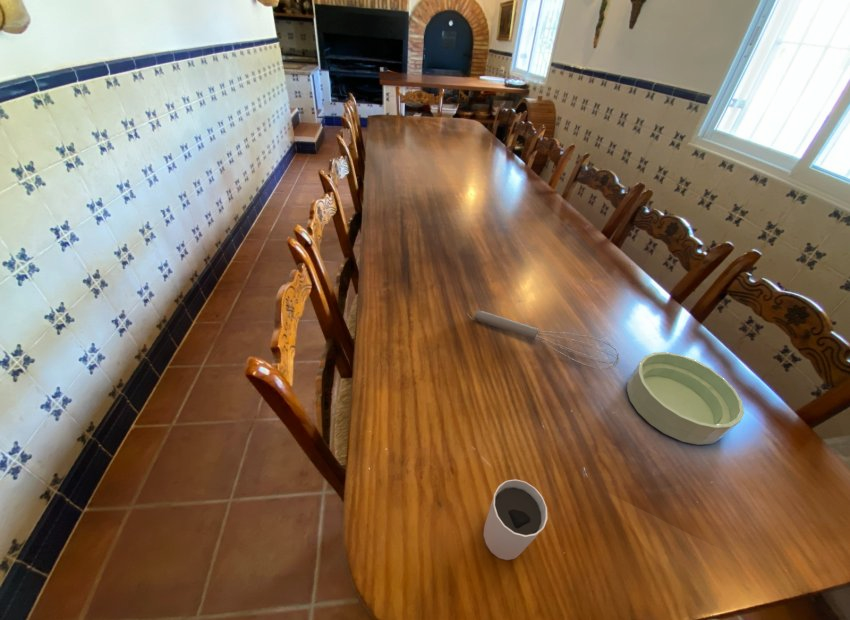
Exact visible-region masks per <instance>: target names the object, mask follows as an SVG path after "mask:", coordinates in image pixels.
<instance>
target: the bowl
mask: <svg viewBox="0 0 850 620" xmlns="http://www.w3.org/2000/svg"><path fill="white" fill-rule="evenodd" d="M626 384H627V385H626V392H627V395H628V399H629V401H630V403H631V404H632V405H633V408H634V409H635V410H636V412H637V413H638V415H640V416H641V417H642V418H643V419H644V420H645V421H646V422H647V423H648V424H649V425H651V426H652V427H654V428H655V429H656V430H658V431H660V432H661V433H662V434H664V435H667V436H668V437H671V438H673V439H675V440H678V441H680V442H683V443H688V444H692V445H697V446H700V445H711V444H715V443H716V442H718V441H720V440H722V439H723V438H724V437H725V436H726V435H727V434H729V432H730V431H731V430H733V429H734V428H735V427H736V426H737V425H738V424H739V423H741V421H742V419H743V417H744V414H745V410H744V404H743V400H742V398H741V397H740V396H739V394H738V392H737V390H736V388H734V387H733V386H732V385H731V383H730V382H729V381H727V380H726V378H724V377H723V376H722V375H721V374H719V373H718V372H716V371H715V370H714V369H712V368H711V367H709V366H708V365H705V364H704V363H702V362H700V361H699V360H696V359H694V358H691V357H689V356H686V355H683V354H680V353H679V354H678V353H674V352H668V351H667V352H666V351H663V352H660V351H659V352H653V353H650V354H647V355H645V356H644V357H642V359H641V360H640V361H639V363H638V364H637V366H636V367H635V369H634V370H633V372H632V373H631V375H630V376H629V377H628V380H627V383H626Z"/></svg>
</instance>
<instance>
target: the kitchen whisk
mask: <svg viewBox="0 0 850 620" xmlns="http://www.w3.org/2000/svg"><path fill="white" fill-rule="evenodd" d="M471 310H473V311H475V310H476V311H475V313H474V317H471V316H470V315H469V311H471ZM466 314H467V316H468V318H470V319H471V320H472V321H477V322H479V323H481V324H484V325H488V326H491V327H493V328H497V329H499V330H503V331H505V332H509V333H512V334H515V335H518V336H521V337H524V338H528V339H530V340H534V341H536V339H537V340H538V341H540V342H541V343H543V344H545V345H546V346H548V347H549V348H550V349H552V350H554V351H556V352H557V353H559V354H561V355H562V356H564V357H566V358H568V359H570V360H572V361H575V362H576V363H579V364H580V365H583V366H587V367H588V368H589V367H590V368H592V369H598V370H611V369H613V368H615V367H617V365H618V363H619V362H620V357H619V355H620V354H619V352H618V350H617V348H616V347H615V346H613V345H612V344H611V343H610V342H608V341H606V340H604V339H600V338H597V337H594V336H590V335H586V334H582V335H581V334H580V333H575V336H576V337H580V336H581V337H582V338H587V339H592V340H595V341H598V342H601V343H604V344H605V345H608V346H609V347H611V348H612V349H613V350H614V351H615V352H616V353H615V352H612V351H611V350H609V349H606V348H604V347H602V346H600V345H596V344H592V343H589V342H585V341H582V340H577V339H573V338H568V337H563V336H558V335H554V334H560V335H566V332H563V331H541V330H540V328H537V327H534V326H531V325H528V324H525V323H522V322H519V321H515V320H511V319H509V318H505V317H502V316H499V315H496V314H493V313H490V312H486V311H483V310H479V309H478V308H470V309H468V311H467V312H466ZM539 330H540V331H539ZM539 335H541V336H539ZM567 335H568V336H574V333H573V332H567ZM543 336H545V337H549V338H552V339H553V338H554V339H558V340H561V341H566V342H569V343H573V344H577V345H581V346H583V347H587V348H590V349H593V350H597V351H599V352H603V353H605V354H607V355H610V356H611V357H613V358H614V359H616V360H615V361H610V360H609V361H608V360H604V359H602V358H601V359H600V358H597V357H594V356H591V355H589V354H586V353H583V352H580V351H577V350H574V349H572V348H569V347H567V346H564V345H562V344H560V343H557V342H553V341H552V340H549V339H547V338H544V337H543ZM546 342H547V343H546ZM579 342H580V343H579ZM548 343H549V344H552V345H553V346H556V347H559V348H560V349H563V350H565V351H568V352H570V353H572V354H575V355H577V356H579V357H583V358H584V359H585V358H586V359H588V360H592V361H596V362H598V363H603V364H608V363H610V364H612V365H611V366H609V367H597V366H596V367H595V366H592V365H589V364H586V363H583V362H581V361H579V360H576V359H574V358H572V357H571V356H569V355H567V354H564V353H563V352H561V351H559V350H558V349H556V348H554V347H552V346H551V345H549V344H548ZM582 343H583V344H582ZM585 344H587V345H585ZM589 345H591V346H589ZM592 346H593V347H592ZM595 347H597V348H595ZM598 348H601V349H598ZM602 349H603V350H602ZM604 350H605V351H604ZM607 351H608V352H607ZM609 352H610V353H609ZM611 353H612V354H611ZM614 355H615V356H614Z"/></svg>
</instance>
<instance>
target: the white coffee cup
mask: <svg viewBox="0 0 850 620" xmlns="http://www.w3.org/2000/svg"><path fill="white" fill-rule="evenodd" d="M547 521H548V506H547V504H546V502H545V499H544V496H543V495H542V494H541V492H539V491H538V489H537V488H536V487H535V486H533V485H531V484H530V483H528V482H527V481H524V480H521V479H516V478H514V479H509V480H505V481H504V482H502V483H500V484H499V485H498V487H497V488H496V490H495V491H494V494H493V497H492V500H491V504H490V506H489V510H488V513H487V516H486V519H485V522H484V526H483V539H484V543H485V545H486V547H487V549H488V550H489V551H490V553H491V554H493V555H494V556H495V557H497V559H501V560H504V561H511V560H515V559H517V558H518V557H519V556H520V555H521V554H522V553H523V552H524V551H525V550H526V549H527V548H528V547H529V545H530V544H531V543H532V542H533V541H534V540H536V538H537V536H539V534H541V532H542V531H543V530H544V529H545V527H546V525H547Z"/></svg>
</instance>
